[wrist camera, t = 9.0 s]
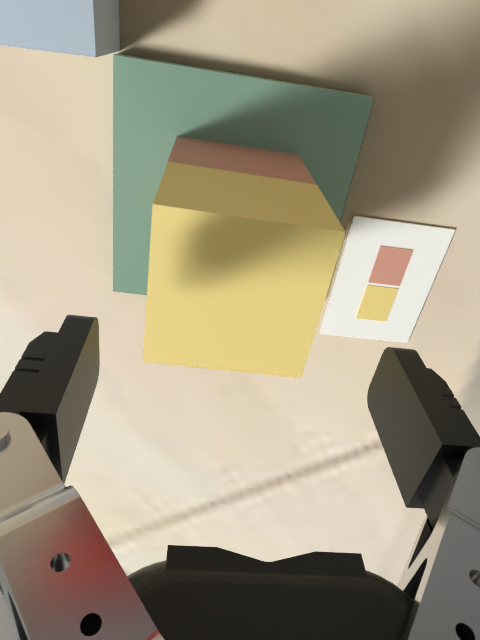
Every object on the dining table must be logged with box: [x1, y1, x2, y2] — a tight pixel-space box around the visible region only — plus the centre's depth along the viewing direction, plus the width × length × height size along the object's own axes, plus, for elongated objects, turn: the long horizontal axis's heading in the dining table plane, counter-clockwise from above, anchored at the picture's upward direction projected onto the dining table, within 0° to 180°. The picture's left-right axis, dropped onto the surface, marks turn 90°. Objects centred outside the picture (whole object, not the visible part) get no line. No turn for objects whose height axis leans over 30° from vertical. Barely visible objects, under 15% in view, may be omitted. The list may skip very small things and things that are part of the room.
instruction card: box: [319, 216, 455, 343], centre depth 28 cm, size 8×6×1 cm
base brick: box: [167, 136, 316, 185], centre depth 22 cm, size 6×6×5 cm
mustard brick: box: [143, 162, 346, 378], centre depth 18 cm, size 6×6×5 cm
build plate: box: [113, 53, 374, 295], centre depth 24 cm, size 12×12×1 cm
